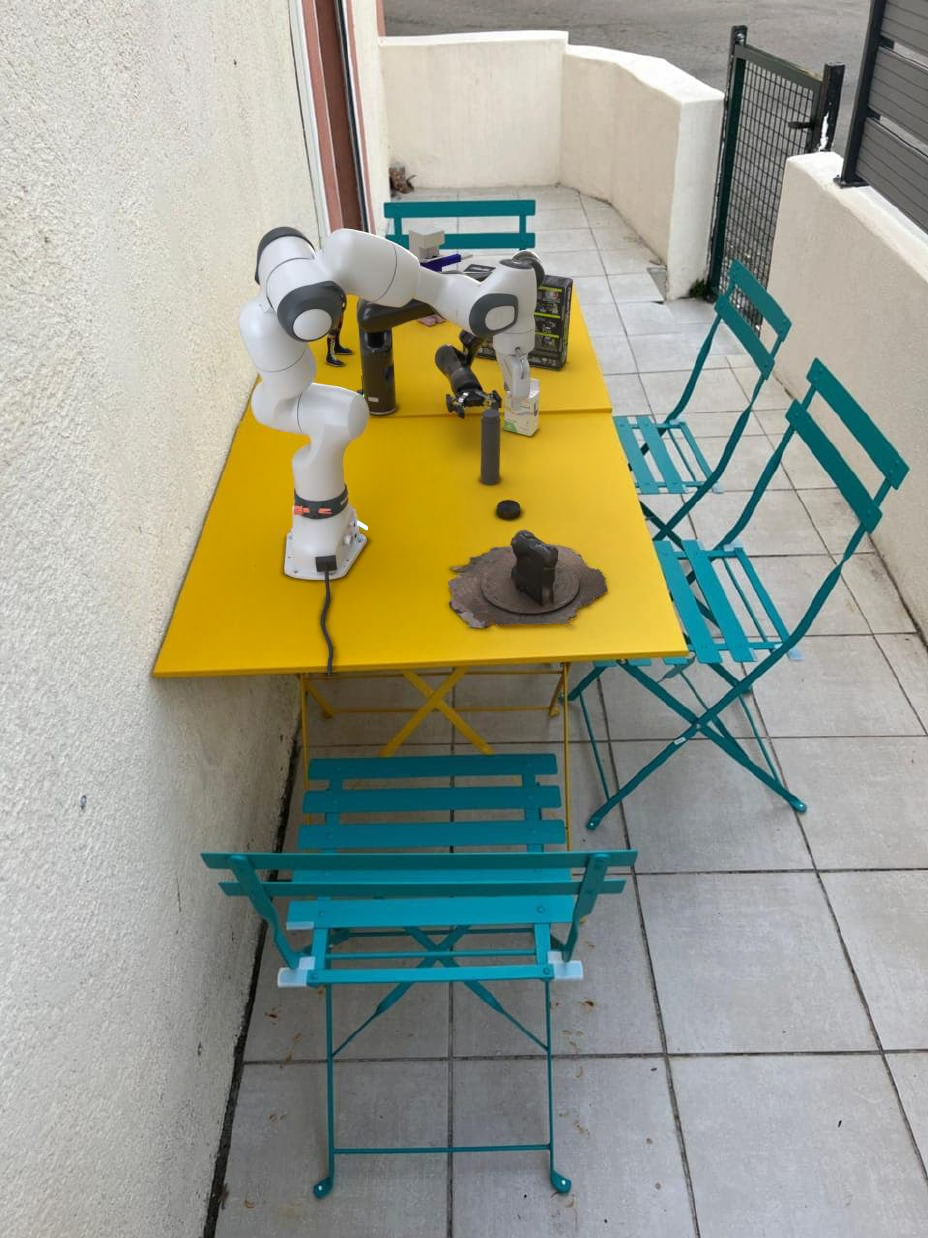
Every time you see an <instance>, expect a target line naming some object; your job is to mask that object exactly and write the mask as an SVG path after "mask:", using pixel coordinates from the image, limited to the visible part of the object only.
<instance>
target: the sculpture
mask: <svg viewBox="0 0 928 1238" xmlns="http://www.w3.org/2000/svg"><path fill="white" fill-rule="evenodd" d="M489 550H490V551H488V552H483V553H481V555H477V556H470V557H469V562H468V563H467V564H465V565H462V566H457V567H456V566H455V567H451V570H453V571H459V572H457V574H456V575H457V576H456V577H454V578H450V579H449V580H447V584H448V587H449V590H450V593H451V594H452V597H451V599H450V600H449V601H448V606H449V607H450V609H452V610H453V611H454V612H455V613H456V614H457V615H458V616H459V617H460V618H461V619H462V621H464V622H466V623H468V625H467V627H468V628H474V629H483V628H484V629H489V627H488V626H489V624H491V623H494V624H495V625H496V626H497V627H500V626H506V625H508V626H509V625H549V624H559V625H567V624H568V625H569V626H573V625H572V623H570V622H569V621H568V620H571V619H574V618H577V612H578V609H580V608H582V607H584V606H589V605H591V604H592V602H593V601H594V600H595V599H599V598H600V597H601V595H603V594H605V593H607V592H608V589H609V587H608V586H607V584H606V579H607V578H606V577H605V576H604V575H603V571H601V570H600V569H599V568H596V569H595V568H593V567H590V566H588V565H587V564H586V562H585V560H584V559H583V555H582V554H580V552H577V551H575V550H573V549H572V548H570V547H567V546H563V545H559V544H558V545H557V544H550V543H546V542H544V541H543V540H542V539H539V537H537V536H535V534H534V533H533V532H532V531H529V530H528V529H520V530H517V531H516V533H515V534H514V536H513V537H511V540H510V544H509V546H499V547H498V546H497V547H496V546H494V547H491V548H490V549H489ZM576 553H577V554H576ZM474 563H475V564H474Z"/></svg>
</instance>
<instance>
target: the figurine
mask: <svg viewBox="0 0 928 1238" xmlns="http://www.w3.org/2000/svg"><path fill="white" fill-rule="evenodd" d="M344 316H345V311H344V312H343V313H342V314H341V315H340V318H339V320H338V322H337V324H336V325H335V327H334V328H333V329H332V330H331V331H330V332H329V333H328V334H327V337H326V345H327V352H326V358H325V360H326V363H327V364H328V365H331V366H335V367H343V366H344V365H345V362H344V361H343V360H340V359H339V358H338V357H336V356H335V354H336V355H352V354H353V351H352V349H351V348H349V347H346V346H343V345H342V344H341V341H340V340H341V339H340V338H341V331H342V328H343V323H344V318H345V317H344Z"/></svg>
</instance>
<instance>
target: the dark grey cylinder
mask: <svg viewBox="0 0 928 1238" xmlns="http://www.w3.org/2000/svg"><path fill="white" fill-rule="evenodd" d="M500 413H501V412H500V411H498V410H495V409H488V408H487V409H484V410H482V412H481V418H480V482H481V483H482V484H484V485H488V486H494V485H497V484H498V483H499V482H500V475H501V474H500V472H501V433H502V432H501V431H502V430H501V429H502V428H501V426H502V419H501V418H500V417H501V415H500Z"/></svg>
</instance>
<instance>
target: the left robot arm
mask: <svg viewBox="0 0 928 1238" xmlns="http://www.w3.org/2000/svg"><path fill="white" fill-rule="evenodd" d="M257 246H258V247H257V251H256V264H255V265H256V266H255V272H254V281H255V283H256V284H257V285H258V286H259V292H258V294H257V295H256V296H254V297H252V298H250V299H249V300H247V301H246V302H244V304H243V305H242V306H241V308H240V310H239V312H238V314H237V326H238V330H239V334H240V338H241V340H242V344H243V345H244V348H245V350H246V352H247V355H248V357H249V358H250V360H251V362H252V364H253V366H254V365H255V366H254V368H255V369H256V371H257V373H258V375H259V376H260V379H261V380H260V382H259V383H258V384H257V385H256V386H255V388H254V390H253V392H252V395H251V401H250V406H251V412H252V414H253V416H254V419H255V420H256V421H257V422H258V424H260V425H262V426H266V427H268V428H270V429H273V430H276V431H278V432H284V433H289V434H296V435H302V436H306V437H308V438H309V439H310V443H308V444H305V445H303V446H301V447H300V448H299V449H298V450H296V451H295V453H294V455H293V457H292V460H291V469H292V470H291V471H292V477H293V483H294V489H293V504H294V505H293V506H292V508H291V510H292V523H291V524H292V526H291V527H290V530H289V532H288V533H287V535H286V543H285V555H284V574H285V575H287V576H289V577H292V578H295V579H300V580H310V581H324V585H325V600H324V605H323V608H322V611H321V615H320V628H321V632H322V635H323V636H324V639H325V641H326V645H327V648H328V658H327V663H326V664H327V665H326V666H327V667H326V670H327V672H326V673H327V677H328V678H331V677H332V676H333V659H334V647H333V643H332V640H331V637H330V636H329V635H330V634H329V632H328V630H327V627H326V614H327V611H328V608H329V605H330V599H331V587H330V585H331V584H330V580H337V579H340V578H343V577H345V576H346V575H347V573H348V572H349V571H350V569H351V567H352V566H353V564H354V563H355V561H356V559H357V558H358V557H359V556H360V553H361V552H362V551H363V549H364V548H365V546H366V544H367V542H368V539H367V536H366V535H365V534H363V533H361V532H360V527H361V528H362V529H364V530H366V531H368V528H369V527H368V526H367V525H366V524H364V523H363V522H361V521H359V520H358V514H357V510H356V508H354V506H352V505H351V503H350V502H349V489H348V486H347V483H346V482H345V472H344V457H345V453H346V450H347V449H348V447H349V446H350V445H351V443H353V442H354V441H355V440H357V439H358V438H360V437H361V436H362V435H363V434H364V433H365V431H366V429H367V428H368V425H369V421H370V414H369V408H368V405H367V402H366V400H365V398H364V397H363V396H362V395H361V394H359V393H357V391H354V390H351V389H349V388H346V387H343V386H339V385H331V384H326V383H325V384H324V383H319V382H314V380H315V379H316V376H317V371H318V370H317V369H318V364H317V360H316V358H315V356H314V354H313V351H312V350H311V347H310V345H309V343H312V342H317V341H319V340H322V339H323V338H325V337H326V336H328V334H329V332H330V331H331V330H332V329H333V328H334V327H335V325H336V324H337V322H338V320H339V318H340V315H341V314H342V313H343V312H344V313H345V311H346V310H347V306H348V298H347V296H353V297H356V298H362V299H365V300H367V301H370V302H373V303H376V304H380V305H384V306H390V307H402V306H404V305H406V304H407V303H408V302H409V301H410V300H411V299H412V298H413V299H416V300H419V301H422V302H425V303H427V304H428V305H429V306H430V307H431V308H432V310H433V311H434V312H435V313H436V314H437V315H438V316H439V317H441V318H442V319H445V321H447V322H449V323H452V324H454V325H455V326H457V327H459V328H461V330H462V329H464V330H465V331H467V332H469V333H471V334H473V335H475V336H477V337H480V338H490V337H492V336H493V348H494V349H495V350H496V358H497V359H496V362H497V365H498V366H499V367H498V368H499V369H500V371H501V374H502V381H503V385H502V386H503V390H504V391H506V392H507V391H510V393H511V395H512V397H513V400H512V409H513V410H514V411H519V410H520V409H521V402H522V399H526V398H528V397H529V395H530V384H531V382H530V378H531V368H530V366H531V365H529V362H528V360H527V358H526V357H527V356H528V353H529V352H530V351H532V350H533V349H534V342H535V320H534V311H535V308H536V298H537V284H536V275H535V271H534V268H533V267H532V266H531V265H529V264H527V263H525V262H523V261H520V260H515V259H511V258H504V259H500V260H498V262H497V264H496V266H495V267H496V269H495V270H494V271H493V273H492V274H491V275H490V276H489V277H488V278H487V279H485V280H484V281H482V282H481V283H480V282H478V281H476V280H474V279H472V278H471V277H470V276H468V275H467V274H465V273H463V271H462V270H457V269H452V270H451V269H450V270H444V271H442V272H435V271H432V270H430V269H427V268H425V267H422V266H420V263H419V260H418V258H417V257H416V256H414V255H413V254H412V253H411V252H410V250H408V249H406V248H405V247H403V246H401V245H399V243H396V242H394V241H392V240H389V239H388V238H384V237H382V236H380V235H376V234H373V233H369V232H366V231H363V230H356V229H351V228H338V229H335V230H334V231H333V232H331V233H330V234H329V235H328V236H327V237H326V238H325V240H324V242H323V244H322V247H321V248H320V249H319V250H317V251H316V249H315V246H314V245H313V243H312V242H311V241H310V239H309V238H308V237H307V236H306V235H305V234H304V233H303V232H302V231H300V230H299V229H297V228H295V227H292V226H278V227H275V228H272V229H271V230H269V231H267V232H266V233H265V234H264V235H263V236H262V238H261V239H260V240H259V243H258V245H257Z"/></svg>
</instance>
